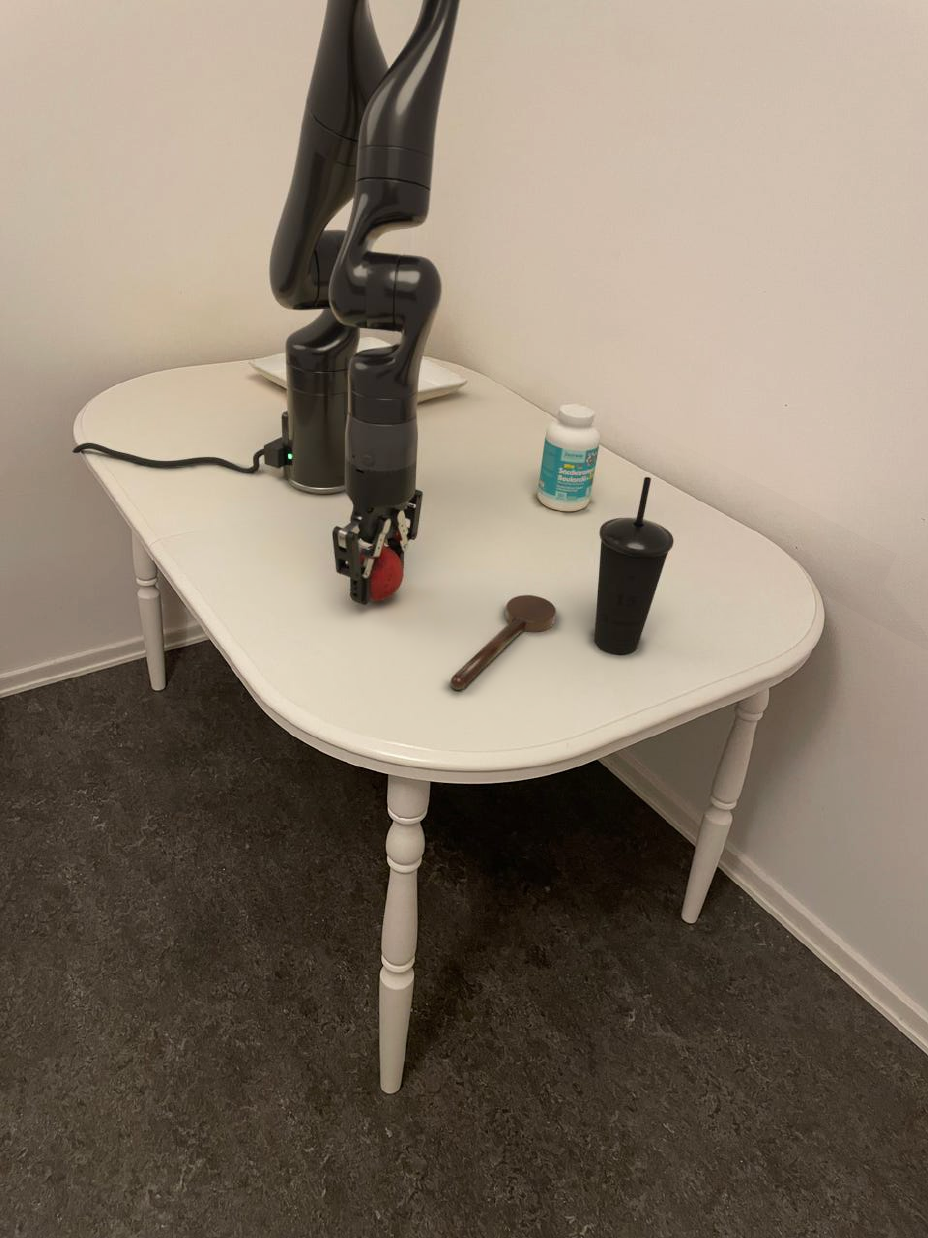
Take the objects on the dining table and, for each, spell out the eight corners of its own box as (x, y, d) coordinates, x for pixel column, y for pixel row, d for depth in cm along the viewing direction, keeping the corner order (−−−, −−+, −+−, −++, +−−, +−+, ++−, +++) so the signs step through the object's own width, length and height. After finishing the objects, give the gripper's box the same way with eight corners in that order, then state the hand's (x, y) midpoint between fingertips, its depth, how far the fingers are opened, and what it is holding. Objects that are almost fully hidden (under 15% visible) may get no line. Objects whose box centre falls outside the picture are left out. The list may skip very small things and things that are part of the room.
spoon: (430, 682, 98) (431, 669, 97) (519, 599, 113) (521, 588, 112) (477, 702, 96) (479, 689, 95) (562, 615, 111) (564, 604, 110)
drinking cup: (575, 622, 110) (602, 461, 98) (640, 623, 110) (674, 463, 99) (588, 662, 103) (618, 494, 92) (657, 663, 104) (695, 496, 93)
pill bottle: (554, 517, 131) (567, 423, 124) (526, 494, 136) (538, 403, 129) (599, 508, 134) (615, 417, 127) (571, 486, 139) (584, 397, 132)
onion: (394, 618, 108) (396, 556, 103) (344, 609, 108) (345, 547, 104) (407, 592, 112) (410, 531, 108) (359, 583, 113) (360, 523, 109)
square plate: (246, 380, 165) (245, 358, 163) (371, 353, 181) (372, 333, 179) (341, 433, 149) (341, 409, 147) (469, 398, 166) (471, 377, 163)
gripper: (390, 423, 107) (386, 554, 116) (309, 465, 96) (311, 606, 106) (447, 441, 104) (438, 574, 113) (370, 486, 93) (367, 629, 103)
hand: (377, 588), depth 109 cm, fingers closed on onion, 6 cm apart
